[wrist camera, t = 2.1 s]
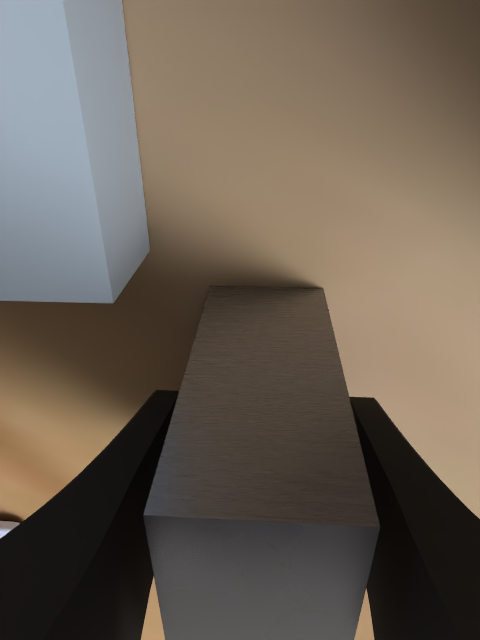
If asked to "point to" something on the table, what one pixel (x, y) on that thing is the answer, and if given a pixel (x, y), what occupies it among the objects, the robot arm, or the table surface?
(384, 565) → the robot arm
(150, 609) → the table surface
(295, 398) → the tall dark grey prism
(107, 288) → the slotted pale blue plate
